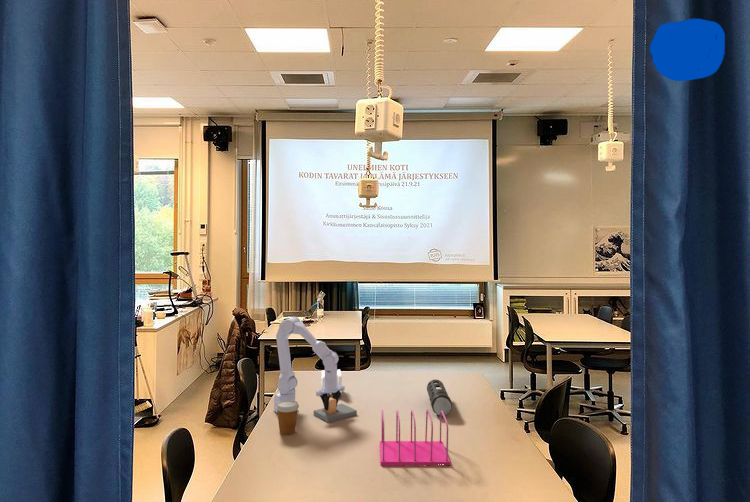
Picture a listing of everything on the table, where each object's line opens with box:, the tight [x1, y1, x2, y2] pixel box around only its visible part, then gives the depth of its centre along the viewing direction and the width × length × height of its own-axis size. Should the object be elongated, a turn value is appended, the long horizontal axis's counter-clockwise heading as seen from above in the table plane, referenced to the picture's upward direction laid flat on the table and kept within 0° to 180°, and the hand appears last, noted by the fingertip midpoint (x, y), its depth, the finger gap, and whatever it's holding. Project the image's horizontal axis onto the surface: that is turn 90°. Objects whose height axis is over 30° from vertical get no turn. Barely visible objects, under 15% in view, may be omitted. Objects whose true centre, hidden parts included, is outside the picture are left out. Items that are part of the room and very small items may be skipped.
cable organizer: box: [320, 368, 343, 396], centre depth 246 cm, size 15×11×12 cm
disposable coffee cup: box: [276, 400, 299, 436], centre depth 197 cm, size 10×10×12 cm
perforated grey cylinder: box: [426, 379, 453, 417], centre depth 227 cm, size 10×28×10 cm, turn 179°
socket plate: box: [313, 403, 358, 424], centre depth 217 cm, size 16×12×2 cm
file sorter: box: [379, 408, 451, 467], centre depth 176 cm, size 17×25×16 cm
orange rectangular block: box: [324, 396, 336, 414], centre depth 216 cm, size 4×4×6 cm
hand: (330, 408), depth 216 cm, fingers closed on orange rectangular block, 4 cm apart
